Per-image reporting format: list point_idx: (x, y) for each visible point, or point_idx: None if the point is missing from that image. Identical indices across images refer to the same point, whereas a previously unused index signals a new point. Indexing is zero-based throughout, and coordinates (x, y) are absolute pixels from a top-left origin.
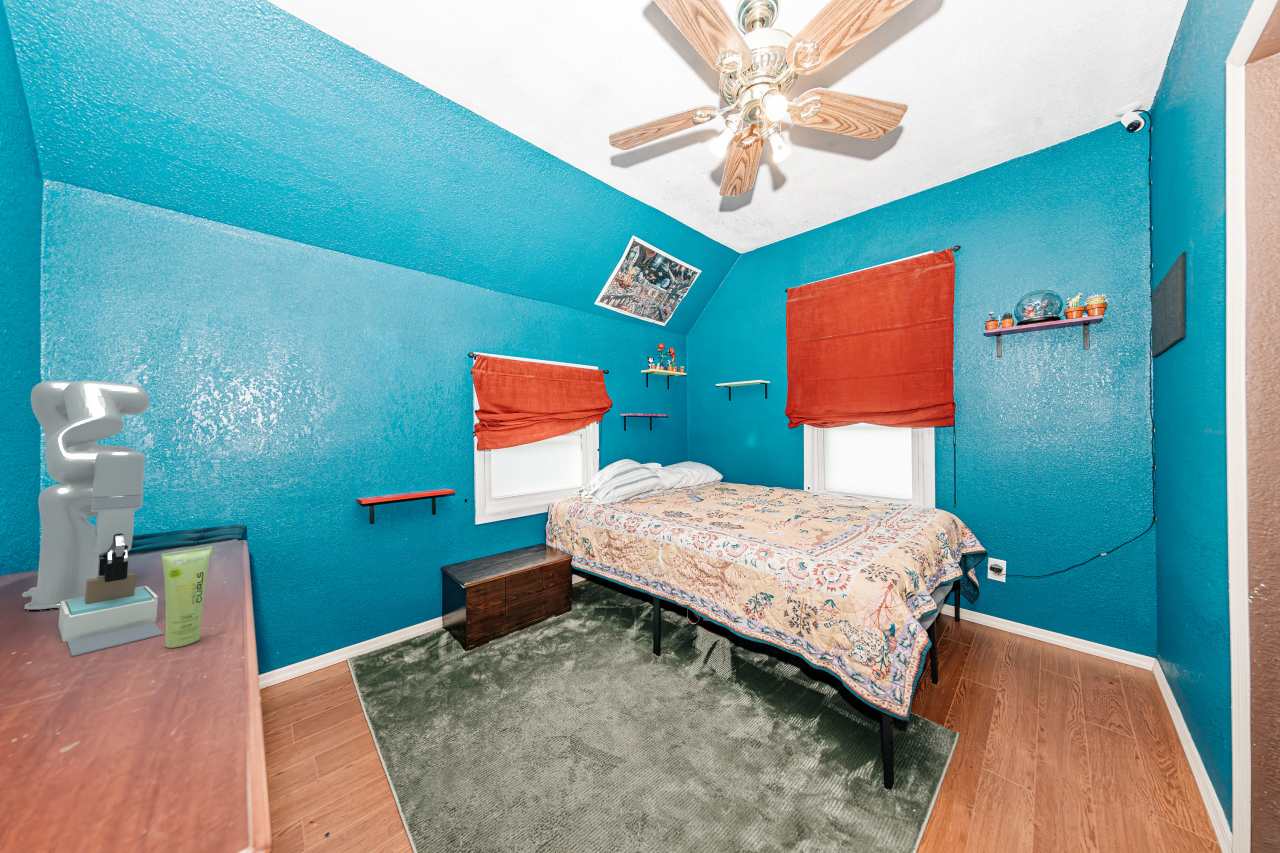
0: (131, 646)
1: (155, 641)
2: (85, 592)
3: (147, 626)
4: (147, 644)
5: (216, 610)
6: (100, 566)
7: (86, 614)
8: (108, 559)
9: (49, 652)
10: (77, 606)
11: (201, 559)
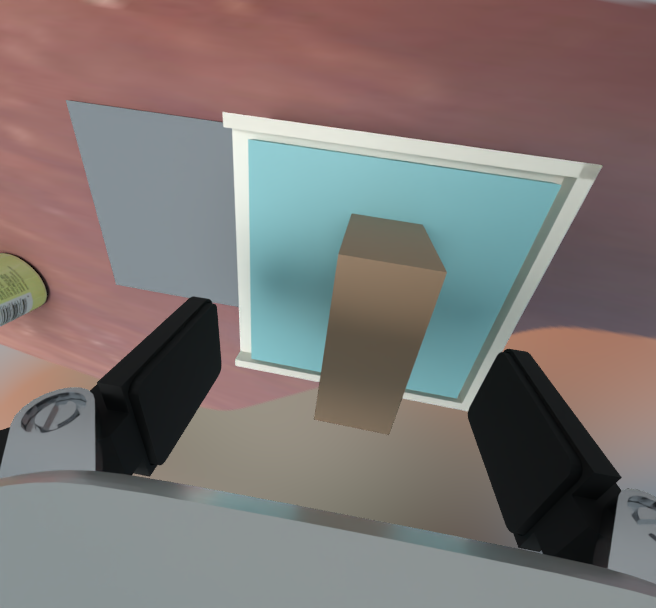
0: (71, 217)
1: (76, 257)
2: (420, 238)
3: (217, 288)
4: (62, 241)
5: (244, 397)
6: (547, 404)
7: (237, 185)
8: (11, 431)
9: (178, 66)
10: (349, 183)
11: None
